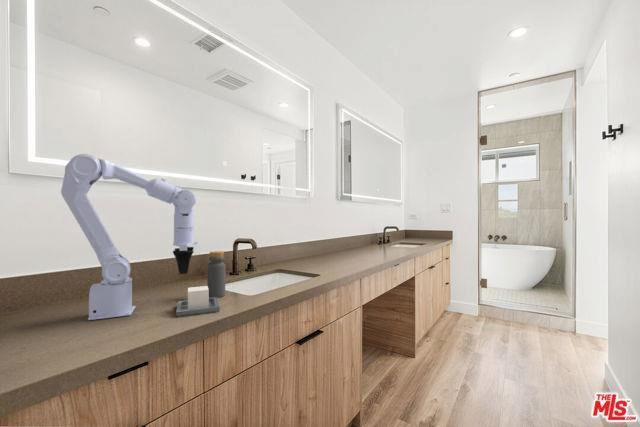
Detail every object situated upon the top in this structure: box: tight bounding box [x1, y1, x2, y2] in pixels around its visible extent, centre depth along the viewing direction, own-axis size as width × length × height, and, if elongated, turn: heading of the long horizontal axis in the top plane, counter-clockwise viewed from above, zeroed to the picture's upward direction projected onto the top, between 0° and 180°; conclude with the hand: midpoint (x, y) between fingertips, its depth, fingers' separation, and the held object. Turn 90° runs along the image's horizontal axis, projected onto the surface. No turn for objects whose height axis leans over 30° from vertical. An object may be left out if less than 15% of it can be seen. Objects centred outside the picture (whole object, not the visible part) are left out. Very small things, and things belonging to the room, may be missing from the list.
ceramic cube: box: [187, 285, 210, 310], centre depth 85 cm, size 6×6×6 cm
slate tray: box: [175, 297, 220, 318], centre depth 85 cm, size 11×11×1 cm
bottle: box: [206, 250, 227, 298], centre depth 99 cm, size 6×6×15 cm
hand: (183, 271), depth 91 cm, fingers open, 7 cm apart
